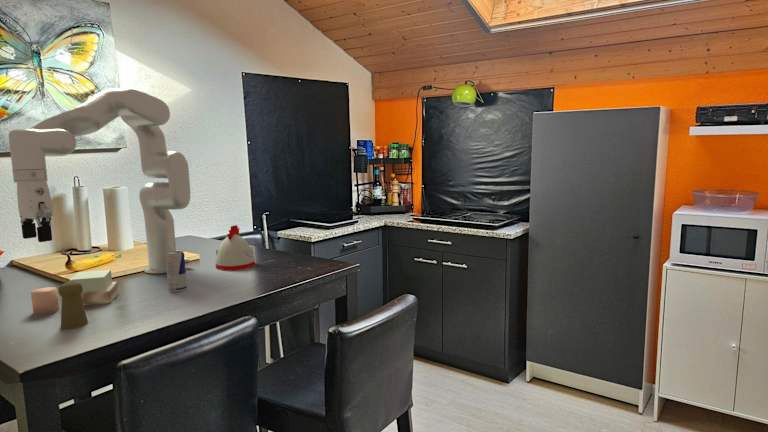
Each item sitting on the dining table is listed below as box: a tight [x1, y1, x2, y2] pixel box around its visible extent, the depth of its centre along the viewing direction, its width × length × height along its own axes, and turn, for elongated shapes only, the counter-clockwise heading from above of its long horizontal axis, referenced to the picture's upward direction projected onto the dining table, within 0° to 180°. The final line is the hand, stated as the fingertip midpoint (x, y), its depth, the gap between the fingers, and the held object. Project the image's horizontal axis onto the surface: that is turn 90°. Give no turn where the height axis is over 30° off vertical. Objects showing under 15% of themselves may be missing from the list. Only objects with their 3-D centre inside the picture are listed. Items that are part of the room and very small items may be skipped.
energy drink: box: [166, 250, 188, 293], centre depth 162 cm, size 5×5×12 cm
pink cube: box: [30, 286, 60, 316], centre depth 144 cm, size 6×6×6 cm
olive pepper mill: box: [58, 281, 89, 330], centre depth 132 cm, size 6×6×11 cm
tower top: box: [68, 269, 113, 293], centre depth 154 cm, size 9×9×4 cm
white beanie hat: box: [215, 224, 256, 271], centre depth 192 cm, size 14×14×15 cm
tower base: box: [81, 281, 119, 306], centre depth 155 cm, size 11×11×4 cm
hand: (37, 239), depth 142 cm, fingers open, 9 cm apart
